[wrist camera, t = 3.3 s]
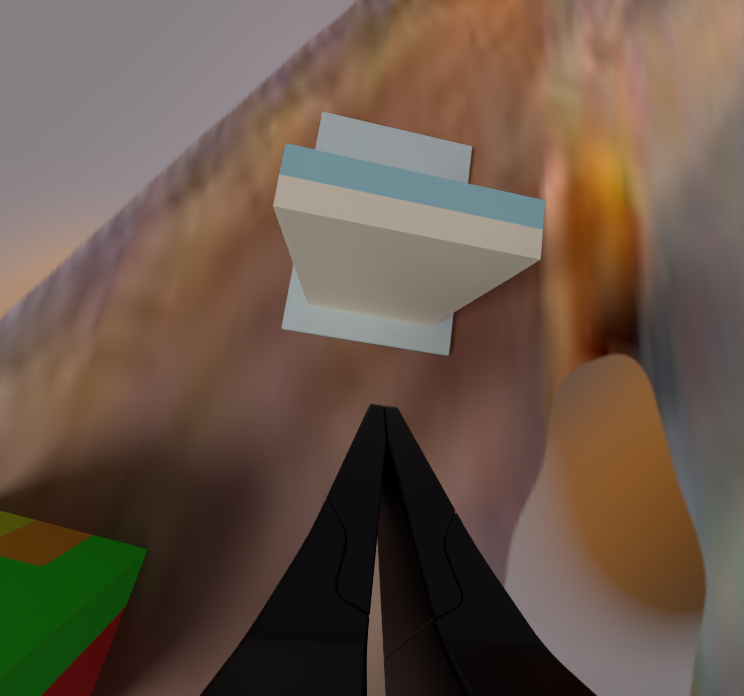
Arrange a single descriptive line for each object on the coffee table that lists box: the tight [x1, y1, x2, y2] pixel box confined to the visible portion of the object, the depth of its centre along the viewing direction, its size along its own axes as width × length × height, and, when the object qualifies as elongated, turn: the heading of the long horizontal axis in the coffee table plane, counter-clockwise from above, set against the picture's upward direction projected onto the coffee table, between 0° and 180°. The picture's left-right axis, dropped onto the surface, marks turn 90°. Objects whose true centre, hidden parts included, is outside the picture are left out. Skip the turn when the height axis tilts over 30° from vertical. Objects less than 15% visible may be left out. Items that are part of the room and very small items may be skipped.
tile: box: [273, 143, 545, 326], centre depth 16 cm, size 2×9×12 cm, turn 81°
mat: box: [282, 112, 472, 356], centre depth 23 cm, size 17×12×1 cm
